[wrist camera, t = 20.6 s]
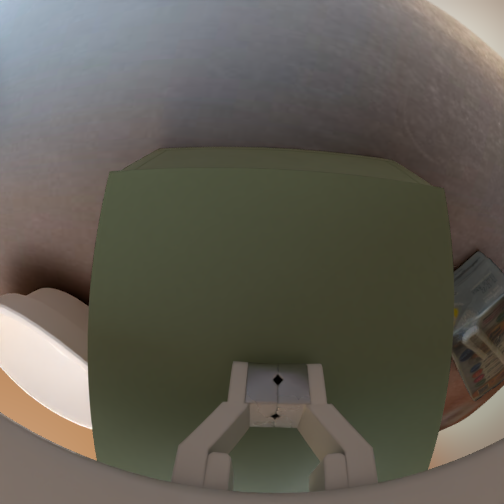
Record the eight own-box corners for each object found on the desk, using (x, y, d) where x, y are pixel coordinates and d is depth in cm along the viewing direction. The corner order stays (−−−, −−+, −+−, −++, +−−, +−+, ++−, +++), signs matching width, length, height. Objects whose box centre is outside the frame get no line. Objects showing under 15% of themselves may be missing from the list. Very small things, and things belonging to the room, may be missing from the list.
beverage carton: (481, 243, 19) (521, 286, 14) (501, 336, 26) (521, 371, 20) (417, 294, 22) (446, 348, 17) (457, 369, 29) (473, 406, 23)
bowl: (1, 302, 28) (-29, 340, 21) (43, 213, 20) (-16, 261, 13) (105, 394, 36) (88, 436, 29) (195, 359, 28) (179, 426, 21)
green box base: (353, 323, 24) (367, 374, 19) (180, 316, 25) (163, 366, 20) (393, 159, 17) (435, 187, 12) (158, 148, 18) (117, 172, 12)
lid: (412, 490, 9) (418, 496, 8) (108, 481, 9) (101, 487, 9) (436, 193, 12) (444, 187, 11) (116, 177, 12) (109, 171, 12)
